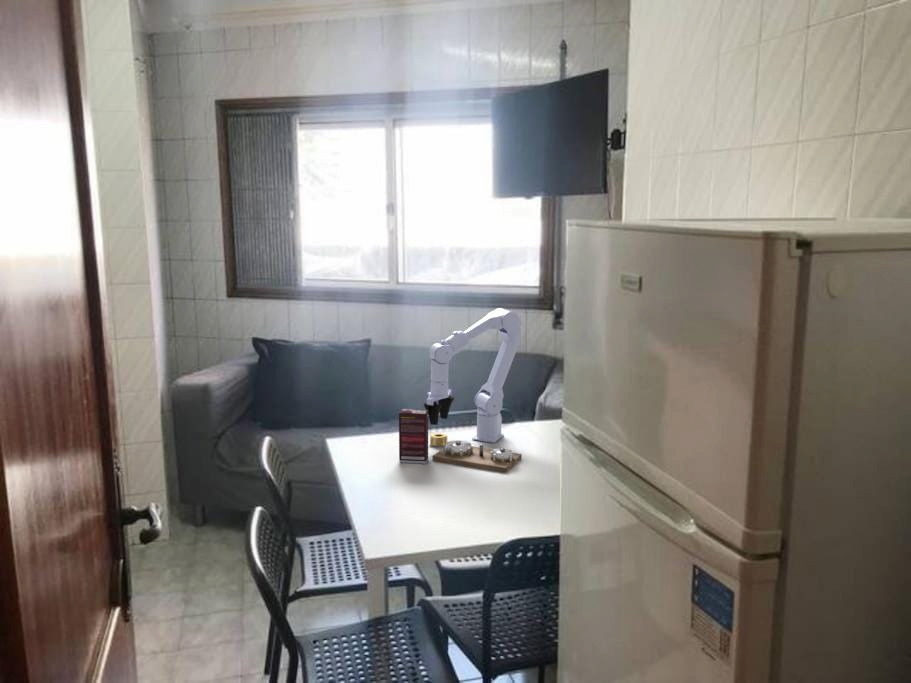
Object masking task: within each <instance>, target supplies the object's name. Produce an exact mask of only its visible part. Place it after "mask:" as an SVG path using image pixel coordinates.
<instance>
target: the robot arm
mask: <svg viewBox="0 0 911 683" xmlns="http://www.w3.org/2000/svg"><path fill="white" fill-rule="evenodd" d="M522 323H523V321H522V319H521V317H520V316H519V314H518V313H517V312H515V311H512V310H507V309H506V308H502V307H498V308H495V309H494V310H492V311H490V312H488V313H487V315H485V316H484V317H483V318H482V319H480V320H479V321H477V322H476V323H474V324H473V325H472V326H470V327H468V329H466V330H464V331H462V330H458V331H456V330H455V331H453V332H452V334H451V335H450V336H448V337H447V338H446V339H442V340H440V343H439V342H438V343H437V342H436V343H434V344H432V345H431V346H430V348H429V350H428V352H427V354H428V357H429V359H430V391H428V392H427V394H426V395H427V396H428V398H426V401H425V402H424V403H423V407H424V408H425V410H428V420H429V423H430V425H433V426H437V425H438V424H439V418H440V419H444V420H447V419H448V417H449V412H450V408H451V406H452V403H453V402H454V401H455V397H454V396H452V389H450V388H449V370H450V369H449V365H450V364H449V362H450V361H451V360H452V357H453V356H454V355H457V353H460V352H461V351H462V350H464V349H465V348H468V346H469V345H470V341H471V340H473V339H475V338H477V337H478V336H481V335H482V334H483V333H486V332H487V331H489V330H498V331H499V333H500V334H501V336H502V338H503V339H502V343H501V344H500V347H499V350H498V353H497V355H496V357H495V360H494V363H493V366H492V368H491V371H490V374H489V377H488V379H487V381H486V382H485V383H484V384H483V385H482V386H481V388H480V389H479V391H478V392H477V393H476V395H475V396H474V404H475V406H476V407H477V412H476V435H475V436H473V437H472V438H471V439H472V440H473V441H474V440H475V441H481V442H484V443H485V442H486V443H496V442H497V441H498V440H500V439H501V438H503V437H504V436H505V435H504V433H502V420H503V418H502V414H501V413H500V412H501V411H502V408H503V399H504V397H505V395H504V391H503V386H504V384H505V382H506V379H507V377H508V374H509V371H510V368H511V366H512V363H513V361H514V358H515V357H516V356H515V355H516V353H517V350H518V348H519V345H520V342H521V339H522V333H521V326H522Z"/></svg>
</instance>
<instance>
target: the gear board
mask: <svg viewBox="0 0 911 683" xmlns="http://www.w3.org/2000/svg"><path fill="white" fill-rule="evenodd" d="M433 460H434V461H433ZM521 460H522V453H517V452H515V451H512V449H509V448H505V447H499V448H493V449H492V448H486V447H484V444H483V443H482V444H481V443H480V444H479V447H478V446H474V445H473V444H472V442H469V441H467V440H457V439H456V440H447V443H446V444H444V446H442V449H440V450H439V451H437V452H436V453H435V454H433V455H432V461H433V462H440V463H446V464H452V465H459V466H462V467H468V468H469V467H470V468H476V469H480V470H488V471H493V472H498V473H503V474H506V473H508V472H509V469H510V470H511V469H512V468H513V467H514V466H515V465H516V464H517V463H519V462H520V461H521Z"/></svg>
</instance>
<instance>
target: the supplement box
mask: <svg viewBox="0 0 911 683" xmlns="http://www.w3.org/2000/svg"><path fill="white" fill-rule="evenodd" d="M398 441H399V442H398V448H399V449H398V453H399V454H398V456H399V457H398V458H399V461H398V462H399V463H400V462H402V463H401V464H423V465H424V464H425V465H426V464H427V462H428V460H429V415H428V410H426V409H417V408H416V409H414V408H409V409H408V408H401V409H400V411H399V412H398Z"/></svg>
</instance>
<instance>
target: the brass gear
mask: <svg viewBox="0 0 911 683" xmlns="http://www.w3.org/2000/svg"><path fill="white" fill-rule="evenodd" d="M429 437H430V438H429V444H430V445H431V446H432V447H440V446H441V447H444V444H446V443H447V442H448V435H447V434H445V433H441V432H437V433H432V434H431V435H430V436H429Z"/></svg>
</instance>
